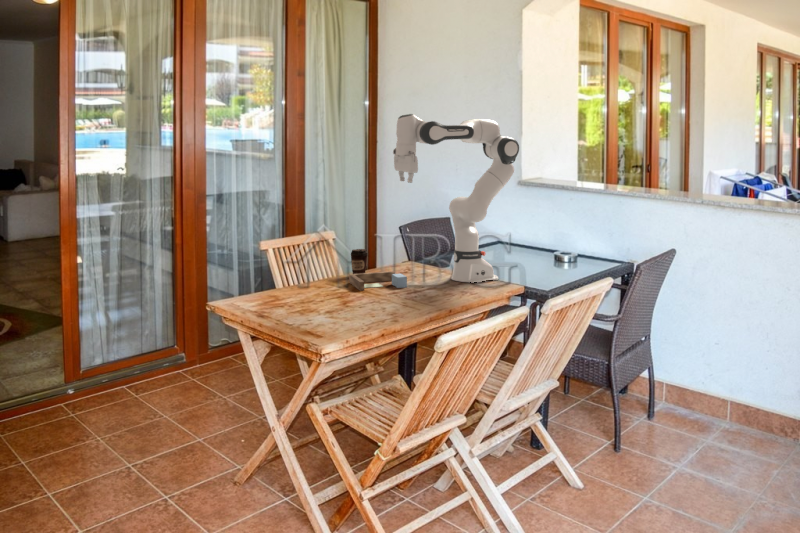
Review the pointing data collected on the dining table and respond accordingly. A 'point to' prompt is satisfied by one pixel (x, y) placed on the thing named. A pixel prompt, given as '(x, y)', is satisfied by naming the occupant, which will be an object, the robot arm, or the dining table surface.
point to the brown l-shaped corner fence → (369, 279)
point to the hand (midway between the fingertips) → (406, 181)
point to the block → (399, 280)
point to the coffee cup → (359, 260)
